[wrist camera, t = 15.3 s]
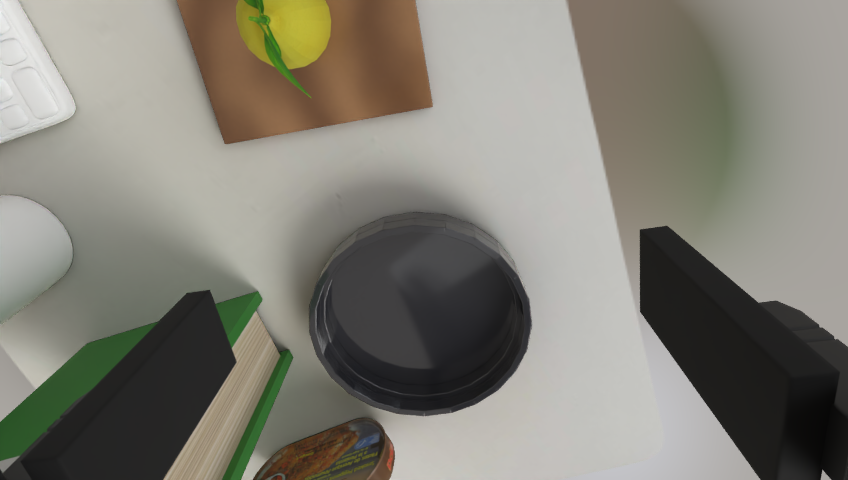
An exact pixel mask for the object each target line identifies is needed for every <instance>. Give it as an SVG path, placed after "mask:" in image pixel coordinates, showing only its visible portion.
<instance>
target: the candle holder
mask: <svg viewBox="0 0 848 480" xmlns="http://www.w3.org/2000/svg"><path fill="white" fill-rule="evenodd" d="M72 259H73V247H72V242H71V239H70V237H69V234H68V232H67V231H66V229H65V227H64V226H63V224H62V223H61V222H60V221H59V219H58V218H57V217H56V216H55V215H54V214H53V213H51V212H50V211H49V210H48V209H46V208H45V207H43V206H42V205H40V204H38V203H36V202H34V201H32V200H30V199H27V198H24V197H20V196H14V195H0V326H1V325H2V324H3V323H5V322H6V321H7V320H9V319H10V318H11V317H12V316H14V315H15V314H16V313H18V312H19V311H20V310H22V309H23V308H24V307H25V306H27V305H28V304H29V303H31V302H32V301H33V300H34V299H36V298H37V297H38V296H40V295H41V294H42V293H43V292H45V291H46V290H47V289H49V288H50V287H51V286H52V285H54V284H55V283H56V282H57V281H58V280H60V279H61V278H62V277H63V276H64V275H65V274H66V273H67V271H68V270H69V268H70V266H71V263H72Z"/></svg>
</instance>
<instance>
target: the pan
mask: <svg viewBox="0 0 848 480" xmlns="http://www.w3.org/2000/svg"><path fill="white" fill-rule="evenodd" d="M531 329H532V319H531V310H530V301H529V298H528V295H527V292H526V289H525V287H524V284H523V281H522V279H521V277H520V274H519V272H518V270H517V268H516V265H515V263H514V261H513V259H512V258H511V257H510V256H509V255H508V254H507V252H506V251H505V250H504V249H503V248H502V246H501V245H500V244H499V243H498V242H497V241H496V240H495V239H494V238H492V237H491V236H489V235H488V234H487V233H485V232H484V231H482V230H481V229H479V228H478V227H476V226H475V225H473V224H471V223H468V222H465V221H463V220H460V219H457V218H454V217H451V216H448V215H445V214H435V213H424V212H411V213H405V214H399V215H393V216H387V217H384V218H382V219H379V220H377V221H375V222H372V223H370V224H368V225H366V226H363V227H361V228H359V229H358V230H357V231H356V232H354V233H353V234H352V235H351V236H350V237H348V238H347V239H346V240H345V241H343V242H342V243H341V244H340V245H339V246H338V247H337V249H336V250H335V251H334V253H333V254H332V256H331V257H330V259H329V260H328V262H327V263H326V265H325V266H324V268H323V270H322V272H321V275H320V277H319V279H318V281H317V283H316V287H315V290H314V293H313V296H312V299H311V303H310V306H309V332H310V336H311V339H312V342H313V345H314V349H315V352H316V355H317V357H318V358H319V360H320V361H321V363H322V364H323V366H324V367H325V369H326V370H327V372H328V373H329V375H330V376H331V378H332V379H334V380H335V381H336V382H337V383H338V384H339V385H340V386H341V387H342V388H344V389H345V390H346V391H347V392H348V393H349V394H351V395H352V396H354V397H356V398H358V399H360V400H362V401H363V402H365V403H367V404H369V405H371V406H373V407H376V408H379V409H383V410H386V411H389V412H393V413H396V414H404V415H416V416H430V415H438V414H446V413H453V412H455V411H458V410H461V409H464V408H467V407H470V406H472V405H475V404H477V403H479V402H480V401H482V400H483V399H485V398H487V397H488V396H490V395H491V394H493V393H495V392H496V391H498V390H499V389H500V388H501V387H502V386H503V385H504V383H505V382H506V381H507V380H508V379H509V378H510V377H511V376H512V375H513V374H514V373H515V372H516V370H517V368H518V366H519V365H520V363H521V361H522V359H523V357H524V355H525V353H526V351H527V349H528V344H529V339H530V334H531Z"/></svg>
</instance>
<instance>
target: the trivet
mask: <svg viewBox="0 0 848 480" xmlns="http://www.w3.org/2000/svg"><path fill="white" fill-rule="evenodd" d="M325 1H326V3H327V5H328V7H329V11H330V17H331V32H330V38H329V41H328V44H327V47H326V49H325V50H324V51H323V53H322V54H321V55H320V56H319V58H318V59H317V60H315V61H314V62H312V63H310V64H309V65H307V66H305V67H300V68H295V69H289V71H290V72H291V73H292V75H293V76H294V77H295V79H296V80H297V81H298V83H299V84H300V85H301V86H302V87H303V89H304V90H305V91H306V92H307V93H308V94H309V95H310V96H311V98H310V97H309V96H308V95H307V94H305V93H304V92H303V91H302V90H300V89H299V88H298V87H297V86H295V85H294V84H293V83H292V82H291V81H289V80H288V79H287V78H286V77H285V76H284V75H282V74H281V73H280V72H279V71H278V69H277V68H276V67H274V66H272V65H270V64H268V63H266V62H264V61H262V60H260V59H259V58H258V57H257V56H256V55H255V54H253V53H252V52H251V51H250V50H249V49H248V47H247V45H246V44H245V42H244V40H243V39H242V37H241V35H240V32H239V29H238V25H237V21H236V5H237V3H238V0H177V3H178V6H179V9H180V12H181V15H182V18H183V21H184V24H185V27H186V30H187V33H188V36H189V38H190V41H191V44H192V47H193V50H194V53H195V56H196V59H197V62H198V65H199V68H200V71H201V74H202V77H203V80H204V83H205V86H206V89H207V92H208V95H209V98H210V101H211V104H212V107H213V110H214V113H215V116H216V119H217V122H218V125H219V128H220V131H221V134H222V137H223V140H224V143H225V144H230V143H236V142H241V141H247V140H252V139H258V138H263V137H269V136H274V135H280V134H285V133H291V132H296V131H302V130H308V129H313V128H319V127H324V126H330V125H335V124H341V123H346V122H352V121H357V120H363V119H368V118H374V117H379V116H385V115H391V114H396V113H402V112H407V111H413V110H418V109H424V108H429V107H432V106H433V103H432V97H431V91H430V85H429V79H428V73H427V67H426V61H425V55H424V49H423V43H422V37H421V31H420V25H419V19H418V13H417V7H416V1H415V0H325Z"/></svg>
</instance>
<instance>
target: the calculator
mask: <svg viewBox="0 0 848 480" xmlns="http://www.w3.org/2000/svg"><path fill="white" fill-rule="evenodd" d="M75 111H76V105H75V103H74V100H73V98H72V96H71V94H70V92H69V90H68V88H67V86H66V84H65V82H64V81H63V79H62V77H61V75H60V74H59V72H58V70H57V68H56V67H55V65H54V63H53V61H52V59H51V58H50V56H49V54H48V52H47V51H46V49H45V47H44V45H43V44H42V42H41V40H40V38H39V36H38V35H37V33H36V31H35V29H34V28H33V26H32V24H31V22H30V21H29V19H28V17H27V15H26V14H25V12H24V10H23V8H22V6H21V5H20V3H19V1H18V0H0V144H1V143H4V142H6V141H9V140H12V139H15V138H18V137H21V136H24V135H26V134H29V133H32V132H35V131H38V130H41V129H44V128H46V127H49V126H52V125H55V124H58V123H60V122H62V121H65V120H67V119H68V118H70V117H71V116H73V114H74V113H75Z"/></svg>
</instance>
